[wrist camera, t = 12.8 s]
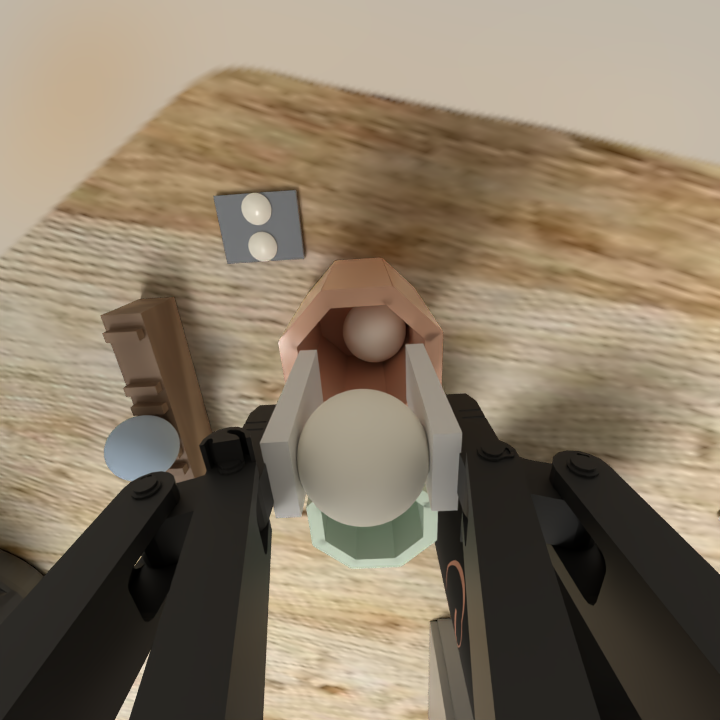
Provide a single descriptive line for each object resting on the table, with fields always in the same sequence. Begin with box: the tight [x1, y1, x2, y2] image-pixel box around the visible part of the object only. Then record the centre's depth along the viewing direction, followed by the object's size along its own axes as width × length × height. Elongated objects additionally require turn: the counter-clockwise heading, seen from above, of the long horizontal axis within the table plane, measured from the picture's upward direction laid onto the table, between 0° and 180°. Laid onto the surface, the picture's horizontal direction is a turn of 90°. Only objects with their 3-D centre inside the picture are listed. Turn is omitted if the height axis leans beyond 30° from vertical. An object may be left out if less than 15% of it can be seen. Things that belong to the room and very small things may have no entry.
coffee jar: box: [435, 497, 642, 720], centre depth 23 cm, size 11×11×18 cm
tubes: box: [213, 190, 443, 569], centre depth 22 cm, size 12×22×9 cm, turn 4°
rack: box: [101, 297, 212, 483], centre depth 25 cm, size 2×16×5 cm, turn 4°
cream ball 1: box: [343, 305, 406, 362], centre depth 22 cm, size 4×4×4 cm
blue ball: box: [104, 415, 180, 481], centre depth 22 cm, size 4×4×4 cm
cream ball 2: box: [297, 389, 429, 527], centre depth 11 cm, size 4×4×4 cm
